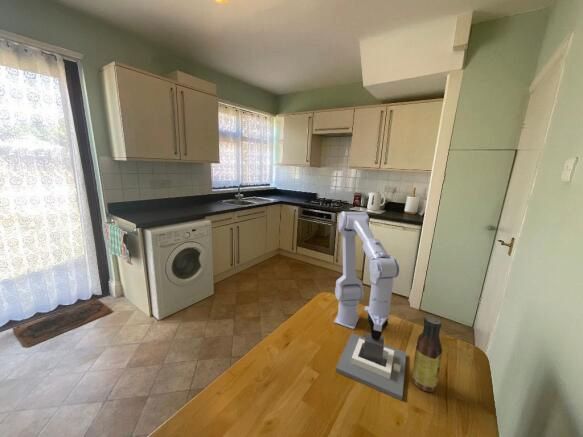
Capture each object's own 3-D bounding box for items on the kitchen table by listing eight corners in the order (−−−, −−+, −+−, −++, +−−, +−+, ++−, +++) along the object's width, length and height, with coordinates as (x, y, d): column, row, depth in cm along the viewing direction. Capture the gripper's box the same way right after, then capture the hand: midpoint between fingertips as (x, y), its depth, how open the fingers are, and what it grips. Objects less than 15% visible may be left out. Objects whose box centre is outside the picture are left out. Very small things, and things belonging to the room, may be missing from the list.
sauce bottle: (440, 395, 63) (452, 330, 60) (415, 390, 65) (425, 326, 61) (431, 375, 70) (441, 315, 66) (408, 371, 71) (417, 311, 67)
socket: (351, 336, 86) (352, 328, 85) (405, 355, 77) (407, 346, 77) (335, 371, 70) (336, 361, 69) (401, 400, 62) (403, 390, 61)
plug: (363, 351, 77) (365, 332, 75) (381, 357, 75) (383, 337, 73) (362, 361, 72) (364, 341, 71) (381, 367, 71) (383, 346, 69)
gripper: (367, 284, 77) (363, 321, 80) (364, 306, 64) (359, 350, 67) (390, 288, 75) (386, 326, 78) (392, 312, 62) (386, 357, 64)
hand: (375, 337), depth 72 cm, fingers closed
